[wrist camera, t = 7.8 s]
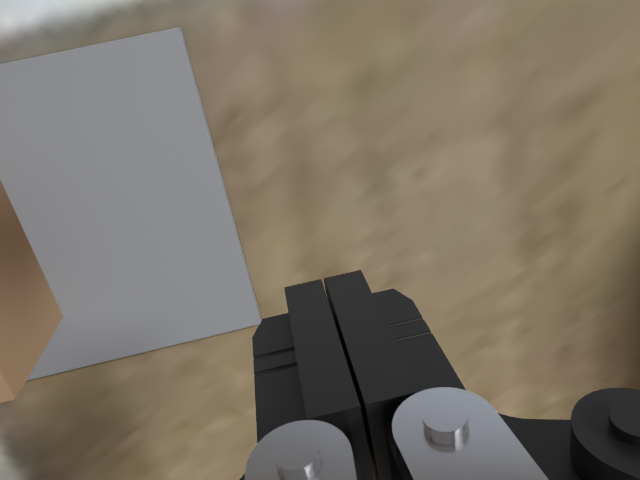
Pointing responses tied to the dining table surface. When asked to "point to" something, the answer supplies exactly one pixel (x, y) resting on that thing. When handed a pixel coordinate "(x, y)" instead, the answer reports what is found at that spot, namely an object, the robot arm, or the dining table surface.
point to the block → (21, 304)
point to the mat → (122, 199)
